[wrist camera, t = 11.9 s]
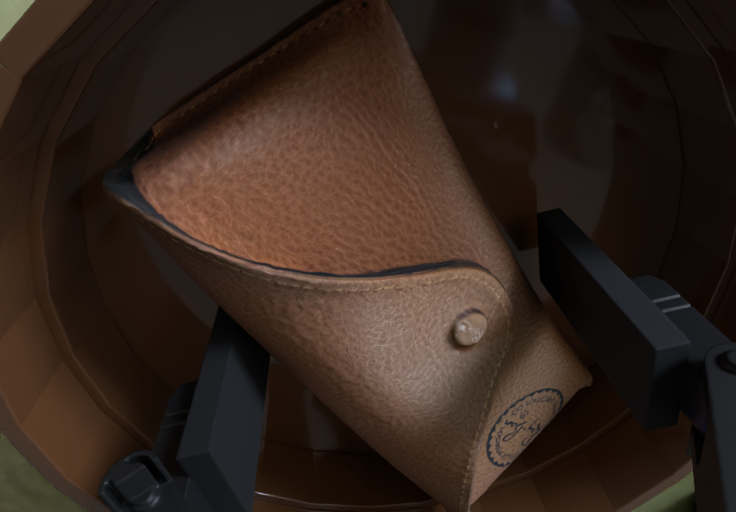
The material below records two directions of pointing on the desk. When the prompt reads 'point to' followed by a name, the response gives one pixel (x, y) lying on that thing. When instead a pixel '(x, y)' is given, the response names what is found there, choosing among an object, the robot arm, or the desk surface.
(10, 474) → the desk surface
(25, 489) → the desk surface
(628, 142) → the bowl
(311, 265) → the sunglasses case
